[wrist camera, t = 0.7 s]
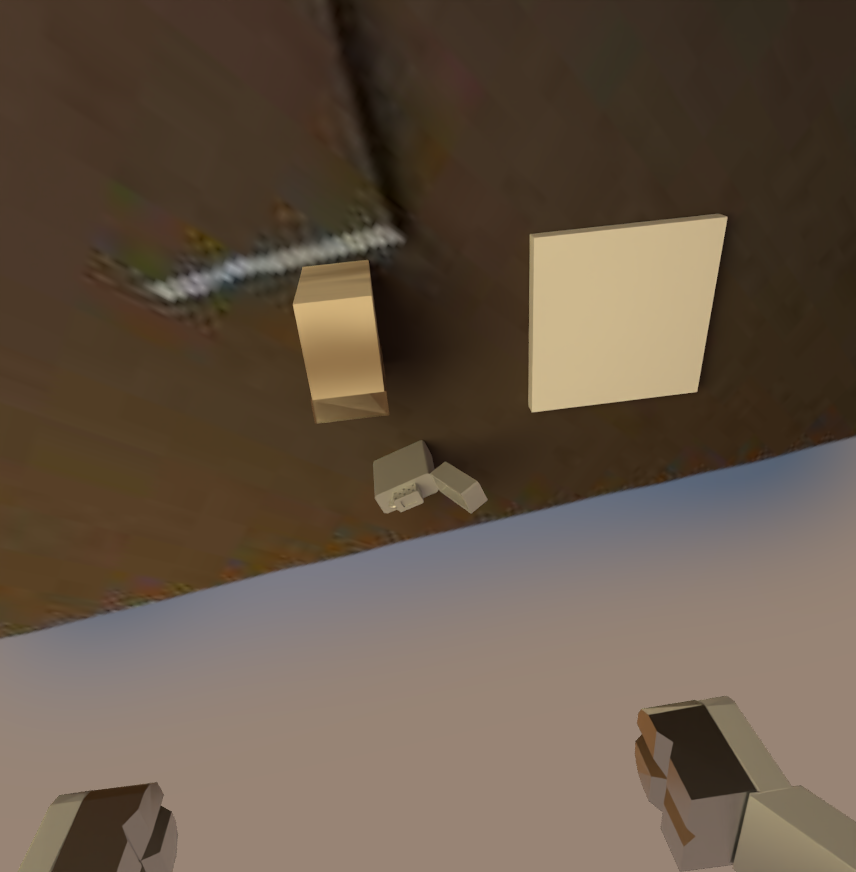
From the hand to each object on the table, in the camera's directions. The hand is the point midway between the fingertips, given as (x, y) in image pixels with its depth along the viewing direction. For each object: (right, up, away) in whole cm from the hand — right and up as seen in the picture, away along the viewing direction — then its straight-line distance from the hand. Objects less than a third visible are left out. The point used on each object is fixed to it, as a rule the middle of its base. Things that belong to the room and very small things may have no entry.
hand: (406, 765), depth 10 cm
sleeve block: (-5, +13, +28) cm, 31 cm away
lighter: (0, +5, +34) cm, 34 cm away
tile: (+13, +14, +30) cm, 35 cm away
